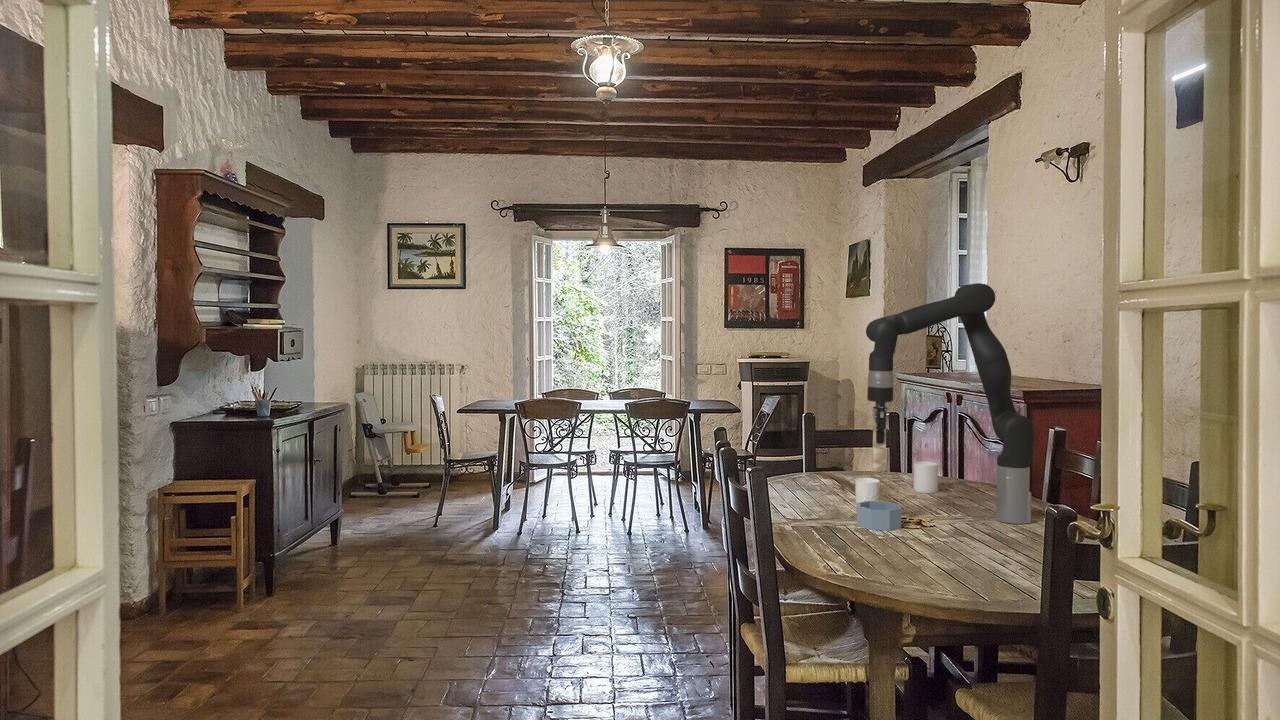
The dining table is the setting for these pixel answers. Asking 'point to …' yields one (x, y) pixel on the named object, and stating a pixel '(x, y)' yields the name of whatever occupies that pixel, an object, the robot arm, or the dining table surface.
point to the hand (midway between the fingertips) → (879, 441)
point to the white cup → (867, 489)
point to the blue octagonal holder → (879, 515)
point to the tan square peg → (878, 451)
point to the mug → (925, 477)
